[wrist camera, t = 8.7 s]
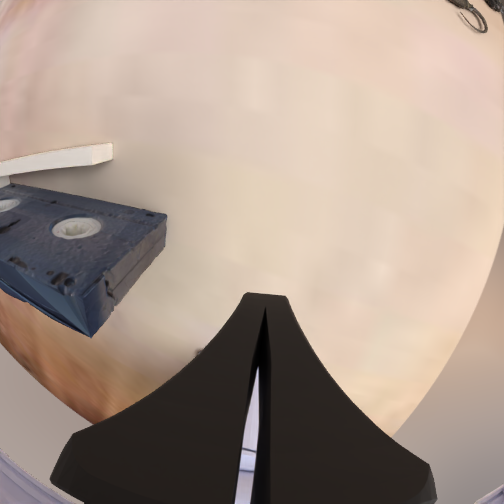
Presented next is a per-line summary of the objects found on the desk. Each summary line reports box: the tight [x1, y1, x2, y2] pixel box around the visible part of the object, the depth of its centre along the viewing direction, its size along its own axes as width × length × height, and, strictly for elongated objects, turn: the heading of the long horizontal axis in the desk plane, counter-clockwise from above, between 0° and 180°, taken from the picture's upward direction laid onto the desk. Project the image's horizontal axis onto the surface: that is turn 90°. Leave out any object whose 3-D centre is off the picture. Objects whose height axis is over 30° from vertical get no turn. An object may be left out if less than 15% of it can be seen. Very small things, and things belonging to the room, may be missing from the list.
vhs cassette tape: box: [0, 183, 167, 339], centre depth 14 cm, size 18×3×10 cm, turn 76°
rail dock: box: [0, 143, 113, 188], centre depth 16 cm, size 11×15×6 cm
